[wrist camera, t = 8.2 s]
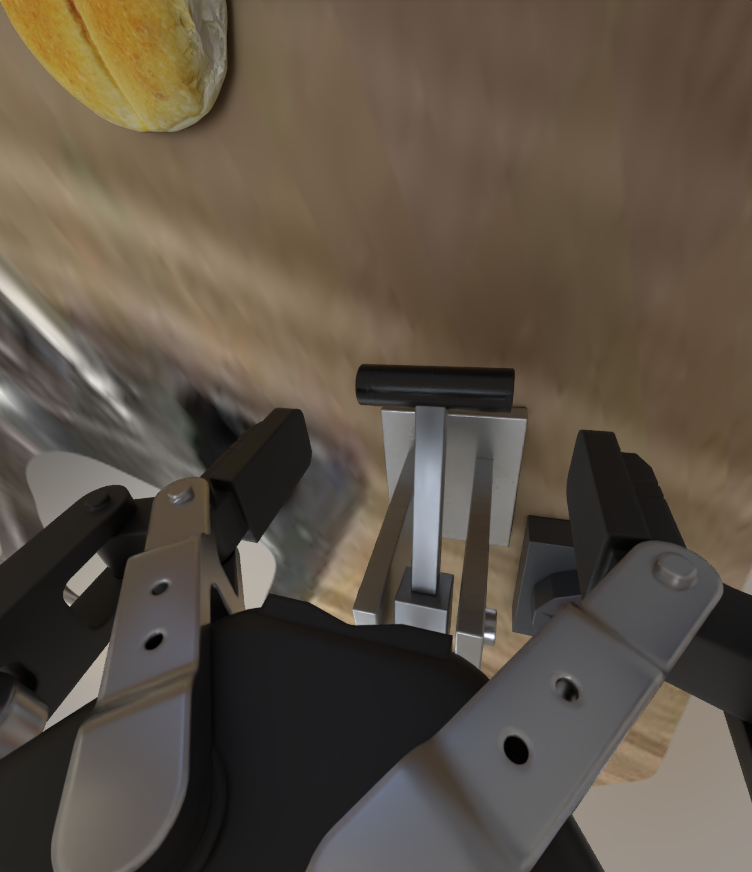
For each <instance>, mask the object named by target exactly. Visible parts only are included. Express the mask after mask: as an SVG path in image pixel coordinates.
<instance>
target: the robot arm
mask: <svg viewBox="0 0 752 872" xmlns="http://www.w3.org/2000/svg"><path fill="white" fill-rule="evenodd" d="M311 457H312V450H311V445H310V441H309V436H308V432H307V428H306V424H305V419H304V415H303V413H302V411H301V410H299V409H290V408H275V409H274V410H273V411H272V412H271V413H270V414H269V415H268V416H267V417H266V418H265V419H264V420H263V421H262V422H259V423H258V424H256V425H254V426H252V427H251V428H249V429H247V430H246V431H245V432H244V433H243V434H242V435H241V436H240V437H239V438H238V439H237V442H234V443H233V444H232V445H231V446H230V447H229V450H226V451H225V452H224V453H223V454H222V455H221V456H220V457H219V458H218V459H217V460H216V461H215V462H214V463H213V464H212V465H211V466H210V467H209V468H208V469H207V470H206V471H205V472H204V473H203V474H202V475H201V476H200V477H187V478H183V479H180V480H177V481H175V482H173V483H171V484H169V485H167V486H166V487H164V488H163V489H162V490H161V491H160V492H159V493H158V494H157V495H156V497H151V498H143V499H133V498H132V497H131V495H130V493H129V491H128V490H127V489H126V488H125V487H124V486H121V485H110V486H105V487H102V488H99V489H97V490H94V491H92V492H90V493H88V494H86V495H85V496H83V497H82V498H81V499H79V500H78V501H77V502H75V503H74V504H73V505H72V506H71V507H69V508H68V509H67V510H66V511H65V512H63V513H62V514H61V515H60V516H59V517H57V518H56V519H55V520H54V521H53V522H51V523H50V524H49V525H48V526H47V527H46V528H44V529H43V530H42V531H41V532H39V533H38V534H37V535H36V536H35V537H33V538H32V539H31V540H30V541H29V542H27V543H26V544H25V545H24V546H23V547H21V548H20V549H19V550H18V551H17V552H15V553H14V554H13V555H12V556H11V557H9V558H8V559H7V560H6V561H5V562H3V563H2V564H1V565H0V872H605V871H604V870H603V868H602V866H601V865H600V863H599V861H598V859H597V857H596V856H595V854H594V852H593V850H592V849H591V847H590V845H589V843H588V842H587V840H586V838H585V836H584V835H583V833H582V831H581V829H580V828H579V826H578V824H577V822H576V821H575V819H574V817H573V815H572V814H573V812H574V811H575V809H576V808H577V806H578V805H579V804H580V802H581V801H582V799H583V798H584V796H585V795H586V794H587V792H588V791H589V789H590V788H591V786H592V785H593V783H594V782H595V781H596V779H597V778H598V776H599V775H600V773H601V772H602V770H603V769H604V768H605V766H606V765H607V763H608V762H609V760H610V759H611V757H612V756H613V754H614V753H615V752H616V750H617V749H618V747H619V746H620V744H621V743H622V741H623V740H624V739H625V737H626V736H627V734H628V733H629V731H630V730H631V728H632V727H633V726H634V724H635V723H636V721H637V720H638V718H639V717H640V715H641V714H642V713H643V711H644V710H645V708H646V707H647V705H648V704H649V702H650V701H651V700H652V698H653V697H654V695H655V694H656V692H657V691H658V689H659V688H660V687H661V685H662V684H663V682H664V681H666V682H668V683H670V684H672V685H674V686H676V687H678V688H680V689H682V690H684V691H686V692H688V693H690V694H691V695H694V696H696V697H698V698H699V699H701V700H703V701H705V702H707V703H710V704H711V705H713V706H715V707H717V708H719V709H721V710H723V711H724V714H725V718H726V721H727V724H728V727H729V730H730V733H731V736H732V740H733V743H734V747H735V750H736V753H737V756H738V759H739V763H740V766H741V768H742V772H743V775H744V779H745V782H746V785H747V788H748V791H749V795H750V798H751V801H752V595H750V594H747V593H744V592H742V591H739V590H737V589H734V588H732V587H730V586H728V585H726V584H724V583H722V580H721V578H720V576H719V574H718V573H717V571H716V570H715V569H714V568H713V567H712V566H711V565H710V564H709V563H708V562H707V561H706V560H705V559H703V558H702V557H701V556H699V555H698V554H696V553H694V552H693V551H691V550H689V549H687V548H686V546H685V544H684V541H683V539H682V537H681V534H680V532H679V530H678V528H677V525H676V523H675V521H674V518H673V516H672V514H671V511H670V509H669V507H668V505H667V502H666V500H665V499H664V498H663V497H664V495H663V493H662V491H661V488H660V486H658V482H657V479H656V477H655V475H654V472H653V470H652V468H651V467H650V466H649V465H648V464H647V463H646V462H645V461H644V460H643V459H641V458H640V457H639V456H638V455H637V454H636V453H625V452H621V450H620V447H619V445H618V442H617V439H616V436H615V434H614V432H608V431H594V430H580V431H579V433H578V436H577V439H576V444H575V448H574V452H573V456H572V461H571V465H570V469H569V473H568V479H567V490H566V494H567V504H568V510H569V517H570V524H571V531H572V538H573V544H574V551H575V558H576V565H577V572H578V579H579V585H580V592H581V599H582V601H581V602H580V603H579V604H577V605H576V604H575V603H574V602H569V603H567V604H566V605H564V606H563V607H562V608H561V609H560V610H559V611H558V612H557V613H556V614H555V615H554V616H553V617H552V618H551V619H550V620H549V621H548V622H547V623H546V624H545V625H544V626H543V627H542V628H541V629H540V630H539V631H538V632H537V633H536V634H535V635H534V636H533V637H532V638H531V639H530V640H529V641H528V642H527V643H526V644H525V645H524V646H523V647H522V648H521V649H520V650H519V651H518V652H517V653H516V654H515V655H514V656H513V657H512V658H511V659H510V660H509V661H508V662H507V663H506V664H505V665H504V666H503V667H502V668H501V669H500V670H499V671H498V672H497V673H496V674H495V675H494V676H493V677H492V678H491V679H490V680H489V679H488V677H487V676H486V675H485V674H484V673H482V672H481V671H480V670H479V669H478V668H477V667H476V666H475V665H473V664H472V663H470V662H469V661H468V660H466V659H465V658H463V657H462V656H460V655H458V654H456V653H454V652H452V640H453V635H449V634H444V633H440V632H436V631H431V630H427V629H423V628H418V627H414V626H409V625H405V624H380V625H350V624H347V623H345V622H343V621H341V620H339V619H338V618H336V617H334V616H332V615H331V614H329V613H327V612H325V611H323V610H322V609H320V608H318V607H316V606H315V605H313V604H311V603H309V602H305V601H300V600H296V599H292V598H287V597H283V596H278V595H274V594H270V593H269V595H268V596H267V598H266V600H265V602H264V603H263V605H262V607H261V608H253V609H247V610H245V605H244V596H243V585H242V575H241V564H240V556H239V555H240V554H239V551H238V548H237V545H238V544H239V543H240V541H241V540H245V541H250V542H255V543H258V541H259V540H260V538H261V537H262V535H263V534H264V532H265V531H266V529H267V528H268V526H269V525H270V524H271V522H272V521H273V519H274V518H275V516H276V515H277V513H278V512H279V510H280V509H281V507H282V506H283V504H284V503H285V501H286V500H287V498H288V497H289V495H290V494H291V492H292V491H293V489H294V488H295V486H296V485H297V483H298V482H299V480H300V479H301V478H302V476H303V475H304V473H305V472H306V470H307V469H308V467H309V465H310V462H311ZM96 552H97V553H98V555H99V556H100V557H101V559H102V560H103V561H104V563H105V564H106V565H107V568H106V569H105V570H104V571H103V572H102V573H101V574H100V575H99V576H98V577H97V578H96V579H95V581H94V582H93V583H92V584H91V585H90V586H89V587H88V588H87V589H86V590H85V591H84V592H83V593H82V594H81V596H80V597H79V598H78V599H77V600H76V601H75V602H74V603H73V604H72V605H71V606H70V607H69V606H68V605H67V603H66V602H65V601H64V599H63V591H64V588H65V586H66V584H67V582H68V581H69V580H70V578H71V577H72V576H74V574H75V573H77V572H78V571H79V570H80V568H81V567H82V566H83V565H84V564H85V563H86V562H87V561H88V560H89V559H90V558H91V557H92V556H93V555H94V554H95V553H96ZM109 642H110V643H109ZM108 643H109V647H108V652H107V657H106V662H105V667H104V671H103V676H102V680H101V685H100V690H99V694H98V697H97V698H96V699H94V700H92V701H91V702H89V703H87V704H86V705H84V706H83V707H81V708H80V709H78V710H77V711H75V712H74V713H72V714H70V715H69V716H67V717H66V718H64V719H62V720H61V721H59V722H58V723H56V724H55V725H53V726H51V727H50V728H48V729H47V730H45V731H44V732H42V731H43V730H44V727H45V725H46V722H47V721H48V720H49V719H50V717H51V716H52V715H53V713H54V712H55V711H56V710H57V708H58V707H59V706H60V705H61V703H62V702H63V701H64V699H65V698H66V697H67V695H68V694H69V693H70V692H71V690H72V689H73V688H74V687H75V685H76V684H77V682H79V680H80V679H81V678H82V676H83V675H84V674H85V673H86V671H87V670H88V669H89V667H90V666H91V665H92V663H93V662H94V661H95V660H96V659H97V657H98V656H99V654H100V653H101V652H102V651H103V650H104V648H105V647H106V646H107V644H108Z"/></svg>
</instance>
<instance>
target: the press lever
mask: <svg viewBox="0 0 752 872" xmlns="http://www.w3.org/2000/svg"><path fill="white" fill-rule="evenodd" d="M514 380H515V370H514V369H513V368H482V367H448V366H414V365H380V364H362V365H361V366H360V367H359V369H358V372H357V376H356V385H355V388H356V397H357V400H358V402H359V404H361V405H372V406H388V407H405V408H415V445H414V483H413V522H412V561H411V567H406V569H405V572H404V575H403V577H402V580H401V583H400V586H399V588H398V591H397V594H396V596H395V599H394V624H405V625H409V626H414V627H418V628H423V629H427V630H431V631H436V632H440V633H444V634H449V633H450V627H451V614H452V598H453V583H454V575H453V574H448V573H442V572H440V565H441V545H442V526H443V506H444V487H445V467H446V448H447V428H448V410H454V411H471V412H488V413H504V414H510V413H511V409H512V402H513V393H514Z"/></svg>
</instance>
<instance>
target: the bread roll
mask: <svg viewBox="0 0 752 872" xmlns="http://www.w3.org/2000/svg"><path fill="white" fill-rule="evenodd" d="M0 1H1V4H2V6H3V8H4V10H5V11H6V13H7V15H8V17H9V19H10V21H11V23H12V24H13V26H14V28H15V29H16V31H17V32H18V34H19V35H20V37H21V38H22V40H23V41H24V43H25V44H26V46H27V47H28V48H29V49H30V51H31V52H32V53H33V54H34V56H35V57H36V58H37V59H38V61H39V62H40V63H41V64H42V65H43V66H44V67H45V69H46V70H47V71H48V72H49V73H50V74H51V75H52V76H53V77H54V78H55V79H56V80H57V81H58V82H59V83H60V84H61V85H62V86H63V87H64V88H65V89H66V90H67V91H69V92H70V93H71V94H72V95H73V96H74V97H76V98H77V99H78V100H79V101H81V102H82V103H83V104H84V105H86V106H87V107H88V108H90V109H91V110H92V111H93V112H95V113H96V114H98V115H99V116H100V117H102V118H104V119H106V120H108V121H110V122H112V123H114V124H116V125H119V126H122V127H125V128H128V129H131V130H135V131H139V132H148V131H154V132H165V131H166V132H175V131H180V130H182V129H185V128H187V127H189V126H191V125H193V124H195V123H197V122H198V121H199V120H200V119H201V118H202V117H204V116H205V115H206V114H207V113H208V112H209V111H210V110H211V109H212V107H213V105H214V103H215V101H216V99H217V97H218V95H219V92H220V89H221V87H222V84H223V81H224V78H225V75H226V72H227V21H228V20H227V5H226V0H0Z"/></svg>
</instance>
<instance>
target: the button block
mask: <svg viewBox="0 0 752 872" xmlns="http://www.w3.org/2000/svg"><path fill="white" fill-rule="evenodd" d="M581 601H582V599H581V592H580V585H579V579H578V572H577V565H576V558H575V551H574V544H573V538H572V531H571V524H570V521H564V520H556V519H549V518H541V517H533V516H528V520H527V526H526V531H525V537H524V543H523V548H522V554H521V559H520V565H519V571H518V576H517V582H516V588H515V593H514V599H513V605H512V631H513V632H516V633H520V634H525V635H530V636H534V635H535V634H536V633H537V632H538V631H539V630H540V629H541V628H542V627H543V626H544V625H545V624H546V623H547V622H548V621H549V620H550V619H551V618H552V617H553V616H554V615H555V614H556V613H557V612H558V611H559V610H560V609H561V608H562V607H563V606H564V605H566V604H567V603H569V602H574V603H575V604H576V605H577V604H579V603H580V602H581Z"/></svg>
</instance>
